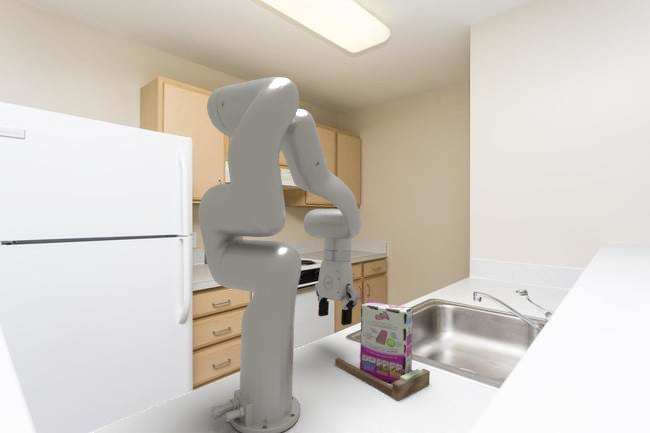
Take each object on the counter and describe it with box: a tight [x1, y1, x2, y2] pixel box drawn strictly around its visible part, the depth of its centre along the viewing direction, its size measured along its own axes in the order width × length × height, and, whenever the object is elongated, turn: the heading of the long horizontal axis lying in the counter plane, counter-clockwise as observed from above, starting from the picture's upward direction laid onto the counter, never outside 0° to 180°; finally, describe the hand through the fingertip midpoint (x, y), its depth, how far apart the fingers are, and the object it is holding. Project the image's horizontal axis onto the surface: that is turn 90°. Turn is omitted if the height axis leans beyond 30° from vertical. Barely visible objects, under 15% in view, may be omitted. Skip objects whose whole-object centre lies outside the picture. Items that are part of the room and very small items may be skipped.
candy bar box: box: [359, 300, 414, 384], centre depth 75 cm, size 11×5×16 cm, turn 57°
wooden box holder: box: [334, 357, 431, 401], centre depth 76 cm, size 11×20×4 cm, turn 39°
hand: (334, 319), depth 87 cm, fingers open, 9 cm apart
